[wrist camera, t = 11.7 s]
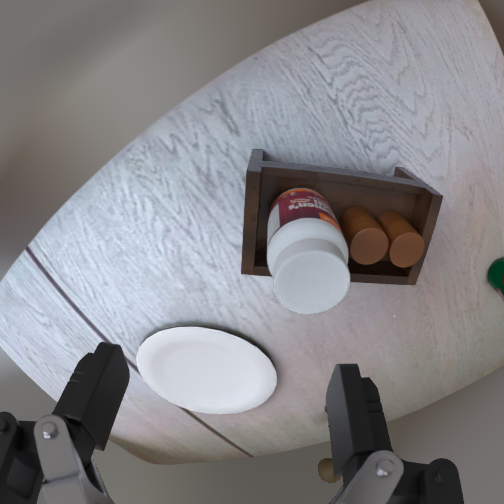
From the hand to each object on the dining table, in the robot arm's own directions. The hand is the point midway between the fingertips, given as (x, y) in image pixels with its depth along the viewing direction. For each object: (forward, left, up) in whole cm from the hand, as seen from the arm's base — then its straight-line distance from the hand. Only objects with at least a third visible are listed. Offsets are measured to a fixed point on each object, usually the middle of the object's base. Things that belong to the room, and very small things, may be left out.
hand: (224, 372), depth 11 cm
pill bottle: (+2, +5, -21) cm, 22 cm away
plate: (+35, -6, -28) cm, 45 cm away
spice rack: (+2, +9, -28) cm, 29 cm away
